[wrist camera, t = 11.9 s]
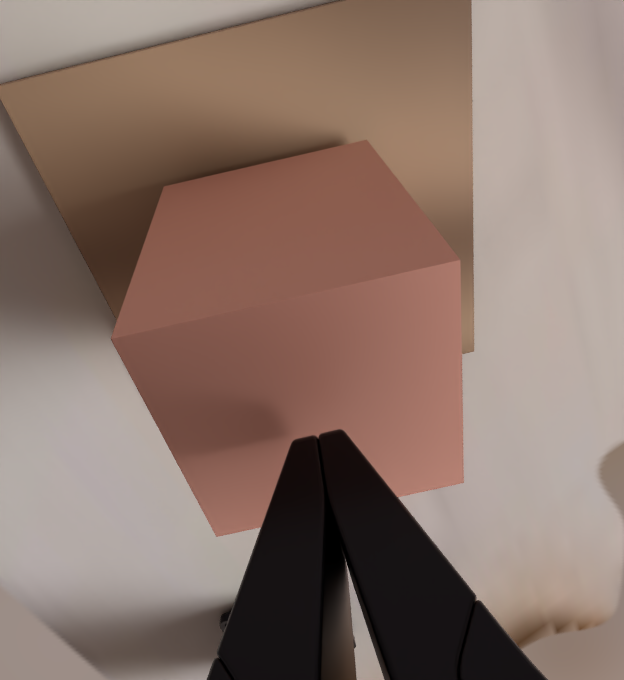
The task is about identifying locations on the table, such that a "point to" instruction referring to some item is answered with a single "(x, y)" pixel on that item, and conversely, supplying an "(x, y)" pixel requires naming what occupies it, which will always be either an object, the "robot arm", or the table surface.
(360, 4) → the taupe inverted t block
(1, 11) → the table surface
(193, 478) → the pink rectangular block
